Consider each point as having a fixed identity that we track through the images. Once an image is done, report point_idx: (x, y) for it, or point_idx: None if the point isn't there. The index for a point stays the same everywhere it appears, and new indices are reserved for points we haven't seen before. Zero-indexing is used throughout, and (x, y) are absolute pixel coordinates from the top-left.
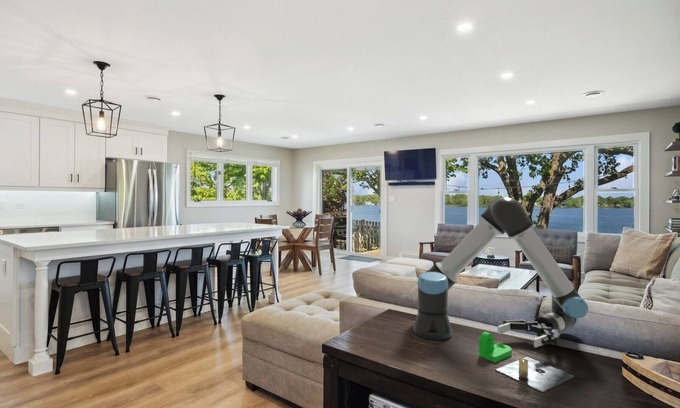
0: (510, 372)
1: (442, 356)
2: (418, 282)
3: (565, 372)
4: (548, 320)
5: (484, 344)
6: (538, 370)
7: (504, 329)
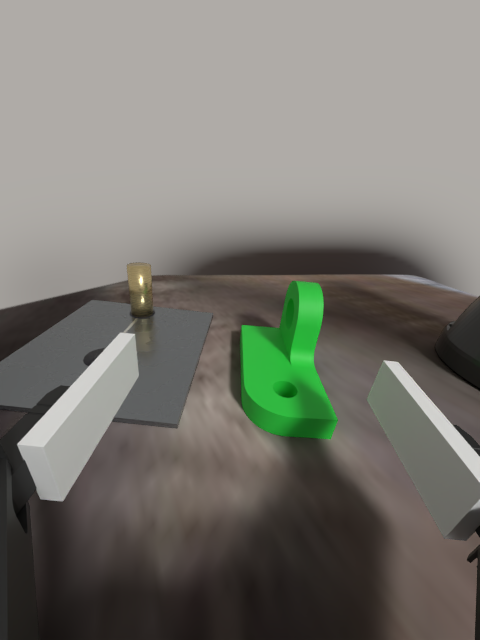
0: (178, 317)
1: (326, 308)
2: None
3: None
4: None
5: (284, 302)
6: None
7: (402, 429)
